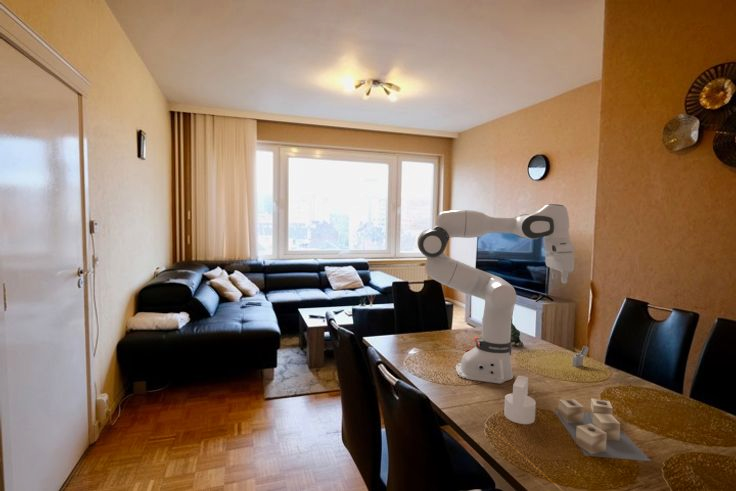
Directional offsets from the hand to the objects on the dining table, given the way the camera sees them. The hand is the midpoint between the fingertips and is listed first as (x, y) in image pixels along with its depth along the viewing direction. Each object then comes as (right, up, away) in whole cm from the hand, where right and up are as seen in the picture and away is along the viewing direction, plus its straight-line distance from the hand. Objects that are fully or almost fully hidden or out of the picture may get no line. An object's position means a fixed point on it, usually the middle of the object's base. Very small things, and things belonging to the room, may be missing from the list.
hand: (559, 281), depth 146 cm
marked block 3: (-14, -41, -44) cm, 62 cm away
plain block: (-6, -41, -38) cm, 56 cm away
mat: (-8, -41, -36) cm, 56 cm away
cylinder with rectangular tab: (-27, -41, -28) cm, 56 cm away
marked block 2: (-2, -40, -29) cm, 50 cm away
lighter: (+17, -38, +17) cm, 45 cm away
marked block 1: (-11, -40, -29) cm, 51 cm away
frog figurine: (-2, -36, +44) cm, 57 cm away
